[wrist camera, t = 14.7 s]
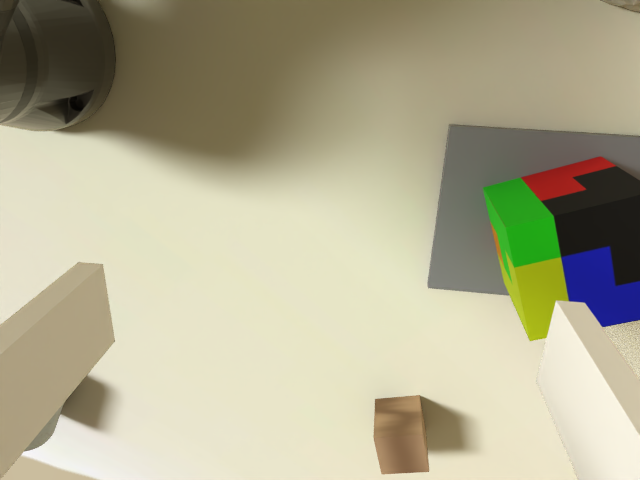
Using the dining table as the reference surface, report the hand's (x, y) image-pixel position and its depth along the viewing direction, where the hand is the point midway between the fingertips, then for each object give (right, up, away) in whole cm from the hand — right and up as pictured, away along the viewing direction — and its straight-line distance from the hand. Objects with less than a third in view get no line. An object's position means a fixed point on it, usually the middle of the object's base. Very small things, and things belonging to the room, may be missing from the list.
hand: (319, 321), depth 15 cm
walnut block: (+9, -18, +43) cm, 48 cm away
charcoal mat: (+21, +4, +32) cm, 39 cm away
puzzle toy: (+21, +4, +32) cm, 38 cm away
